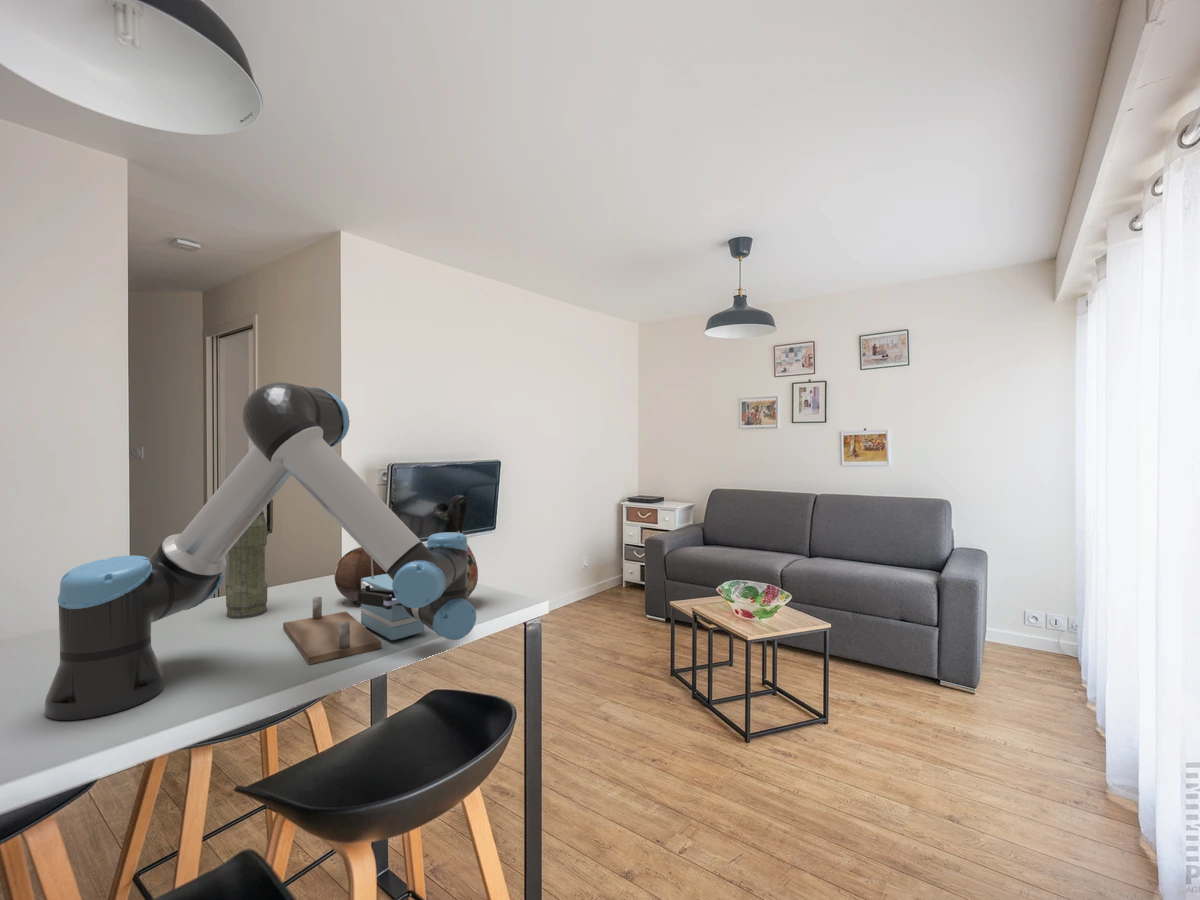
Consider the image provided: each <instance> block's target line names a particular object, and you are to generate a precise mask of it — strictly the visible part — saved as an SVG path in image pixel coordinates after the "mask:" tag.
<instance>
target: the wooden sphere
mask: <svg viewBox="0 0 1200 900" xmlns="http://www.w3.org/2000/svg"><path fill="white" fill-rule="evenodd" d="M372 559H373V558H372ZM334 570H335V571H334V583H335V586H336V588H337V590H338V592H339V593H340V594H341V595H342V596H343V597H344V598H345V599H348V600H350V601H353V602H357V603H358V591H361V579H362V578H366V577H371V576H372V571H371V556H370V555H369V554H368V553H367V552H366V551H365V550H364V549H363V548H362V547H361V546H359V547H357V548H354V549H352V550H350V551H348V552H347V553H345V555H343V556H342V557H341V559H340V560H339V561H338V563H337V564H336V567H335V569H334ZM383 574H387V573H386V572H385V571H384V570H383V569H382V568H381V567H380V566H379V565H378V564H377V563H376V562H375V561H374V559H373V576H377V575H383Z"/></svg>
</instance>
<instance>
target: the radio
mask: <svg viewBox="0 0 1200 900" xmlns="http://www.w3.org/2000/svg"><path fill="white" fill-rule="evenodd" d="M371 571H372V576H371V577H366V578H362V579H361V582H364V581H365V582H366V583H368V584H370V585H371V586H373V587H374V589H382V590H393V588H392V583H393V580H392V579H391V578H390V576H389V575H388V574H383V575H377V576H373V559H372V557H371ZM360 624H362V625H363V626H364V627H365V628H366V629H367V630H371V631H373V632H375V633H377V634H379V635H381V636H383V637H385V638H386V639H388V640H389V641H390V642H394V641H398V639H399V640H402V639H405V638H409V637H408V636H410V637H412V635H413V636H416V635H418V634H421V633H423V632H424V633H425V624H423V623H422V622H420V621H419V620H417V619H415V618H414V617H412V616H411V615H409V614H408V613H407V611H406V610H405V608H404V606H398V605H392V609H389V610H388V609H385V608H382V607H377V606H371V605H365V604H360Z"/></svg>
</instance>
